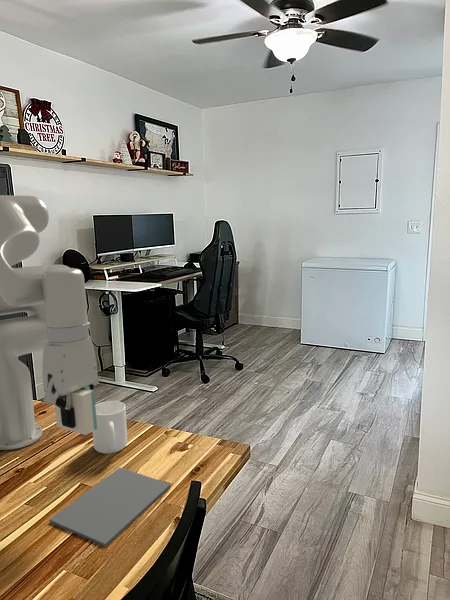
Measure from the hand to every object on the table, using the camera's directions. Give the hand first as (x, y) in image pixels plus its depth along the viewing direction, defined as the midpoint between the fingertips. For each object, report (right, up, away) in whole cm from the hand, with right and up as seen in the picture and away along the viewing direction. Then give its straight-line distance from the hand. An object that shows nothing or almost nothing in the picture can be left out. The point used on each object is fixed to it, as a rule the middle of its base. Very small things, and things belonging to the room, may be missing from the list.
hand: (76, 421), depth 91 cm
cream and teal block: (0, -1, 0) cm, 1 cm away
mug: (+1, -13, +22) cm, 26 cm away
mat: (+7, -17, +1) cm, 18 cm away
